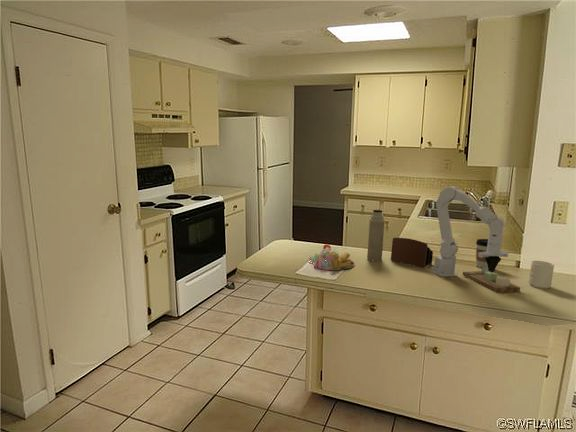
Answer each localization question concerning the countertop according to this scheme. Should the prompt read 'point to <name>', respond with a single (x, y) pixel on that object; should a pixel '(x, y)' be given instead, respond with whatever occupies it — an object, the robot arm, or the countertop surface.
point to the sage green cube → (490, 276)
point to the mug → (541, 274)
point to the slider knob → (484, 268)
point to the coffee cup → (481, 248)
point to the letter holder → (411, 252)
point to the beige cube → (502, 281)
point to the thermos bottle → (376, 236)
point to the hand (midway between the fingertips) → (491, 271)
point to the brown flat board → (490, 282)
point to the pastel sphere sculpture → (331, 259)
